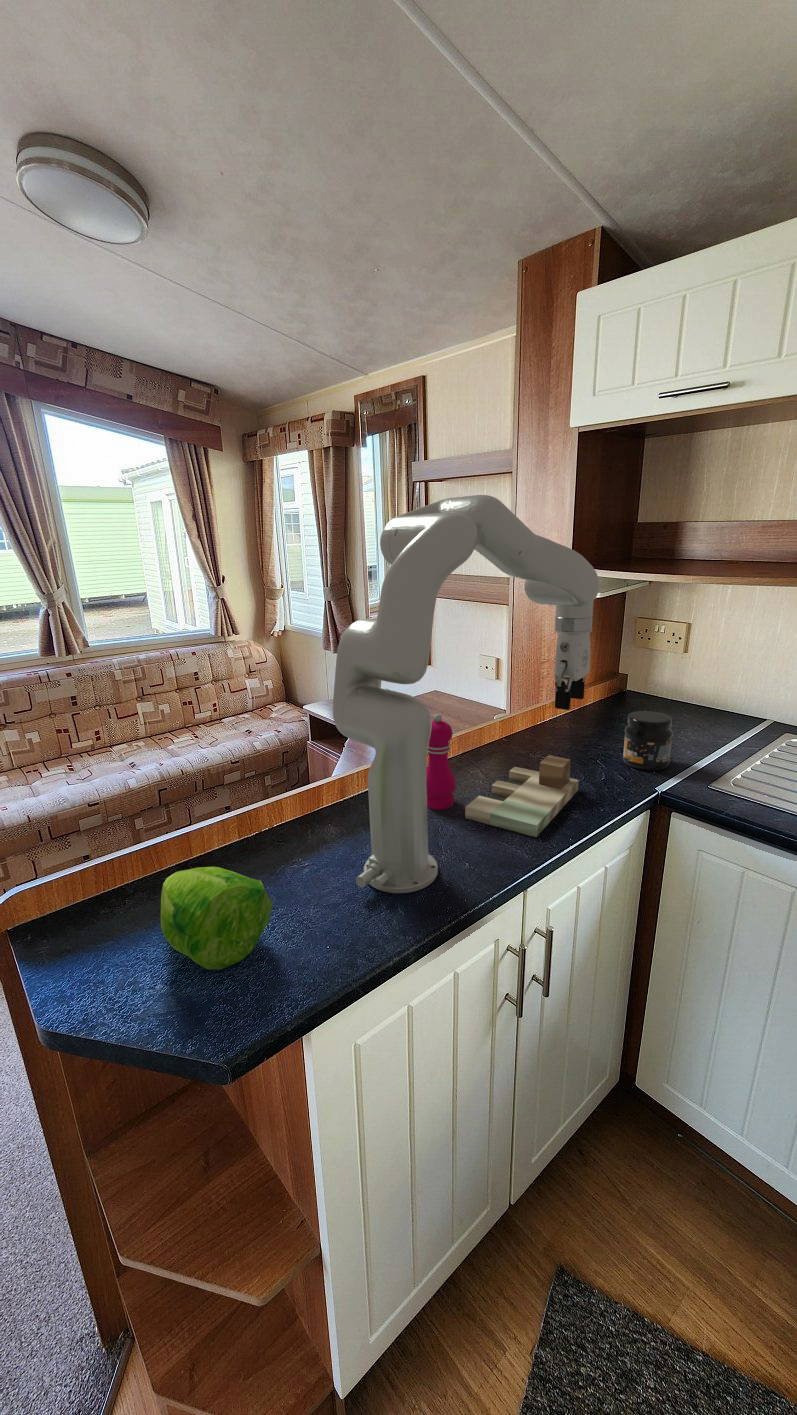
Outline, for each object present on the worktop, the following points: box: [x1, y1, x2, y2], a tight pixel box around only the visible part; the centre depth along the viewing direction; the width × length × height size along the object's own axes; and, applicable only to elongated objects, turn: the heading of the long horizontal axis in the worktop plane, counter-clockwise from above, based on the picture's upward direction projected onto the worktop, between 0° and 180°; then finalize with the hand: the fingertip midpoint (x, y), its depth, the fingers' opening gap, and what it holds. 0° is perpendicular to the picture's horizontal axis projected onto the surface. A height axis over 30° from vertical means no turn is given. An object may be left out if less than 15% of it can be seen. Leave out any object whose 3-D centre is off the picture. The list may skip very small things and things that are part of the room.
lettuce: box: [160, 866, 274, 971], centre depth 80 cm, size 14×20×12 cm
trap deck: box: [464, 766, 579, 838], centre depth 120 cm, size 24×15×2 cm, turn 145°
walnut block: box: [538, 755, 571, 789], centre depth 123 cm, size 5×5×5 cm
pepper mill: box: [426, 713, 457, 811], centre depth 119 cm, size 7×7×20 cm
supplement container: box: [622, 710, 674, 772], centre depth 137 cm, size 10×10×12 cm
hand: (569, 703), depth 126 cm, fingers open, 8 cm apart
